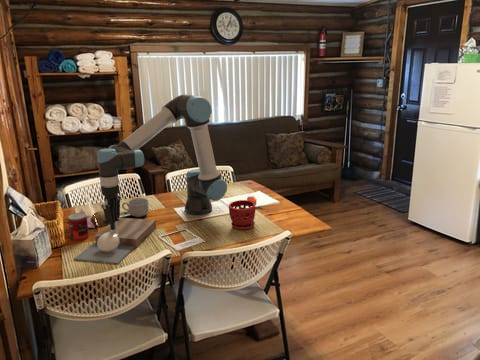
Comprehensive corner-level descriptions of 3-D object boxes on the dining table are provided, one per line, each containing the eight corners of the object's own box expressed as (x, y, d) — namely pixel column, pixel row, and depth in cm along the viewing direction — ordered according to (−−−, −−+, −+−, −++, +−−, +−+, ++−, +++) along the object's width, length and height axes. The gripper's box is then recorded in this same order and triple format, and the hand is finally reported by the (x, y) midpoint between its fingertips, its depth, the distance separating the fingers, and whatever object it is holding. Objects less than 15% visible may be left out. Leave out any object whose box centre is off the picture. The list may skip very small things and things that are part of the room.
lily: (70, 238, 186) (77, 222, 183) (62, 222, 193) (69, 206, 190) (93, 237, 195) (100, 222, 192) (85, 222, 202) (92, 207, 199)
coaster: (123, 236, 173) (121, 233, 171) (114, 254, 167) (112, 251, 165) (105, 233, 175) (103, 230, 173) (95, 250, 169) (93, 247, 167)
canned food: (73, 234, 188) (71, 213, 184) (91, 233, 188) (88, 212, 185) (68, 241, 180) (65, 219, 177) (86, 240, 181) (83, 218, 178)
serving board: (156, 227, 195) (155, 220, 194) (137, 247, 174) (136, 239, 173) (118, 224, 198) (118, 217, 197) (95, 243, 178) (94, 235, 176)
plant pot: (242, 219, 205) (242, 197, 201) (260, 226, 196) (260, 204, 192) (223, 226, 196) (223, 204, 192) (242, 234, 187) (242, 210, 183)
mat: (134, 247, 174) (134, 246, 174) (118, 264, 160) (118, 262, 159) (93, 244, 177) (93, 243, 177) (74, 260, 163) (73, 258, 163)
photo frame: (177, 250, 170) (158, 236, 184) (177, 252, 170) (158, 238, 184) (205, 240, 179) (185, 228, 192) (205, 242, 179) (185, 230, 193)
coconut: (97, 234, 197) (100, 222, 193) (84, 222, 200) (87, 210, 196) (113, 227, 205) (116, 215, 201) (100, 216, 208) (103, 204, 204)
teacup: (152, 211, 215) (151, 198, 213) (145, 219, 205) (144, 205, 203) (127, 211, 217) (126, 197, 214) (119, 218, 206) (118, 204, 204)
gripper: (109, 180, 174) (114, 228, 181) (93, 189, 162) (99, 240, 169) (125, 181, 173) (129, 230, 180) (110, 190, 161) (115, 242, 168)
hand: (115, 235), depth 174 cm, fingers closed
